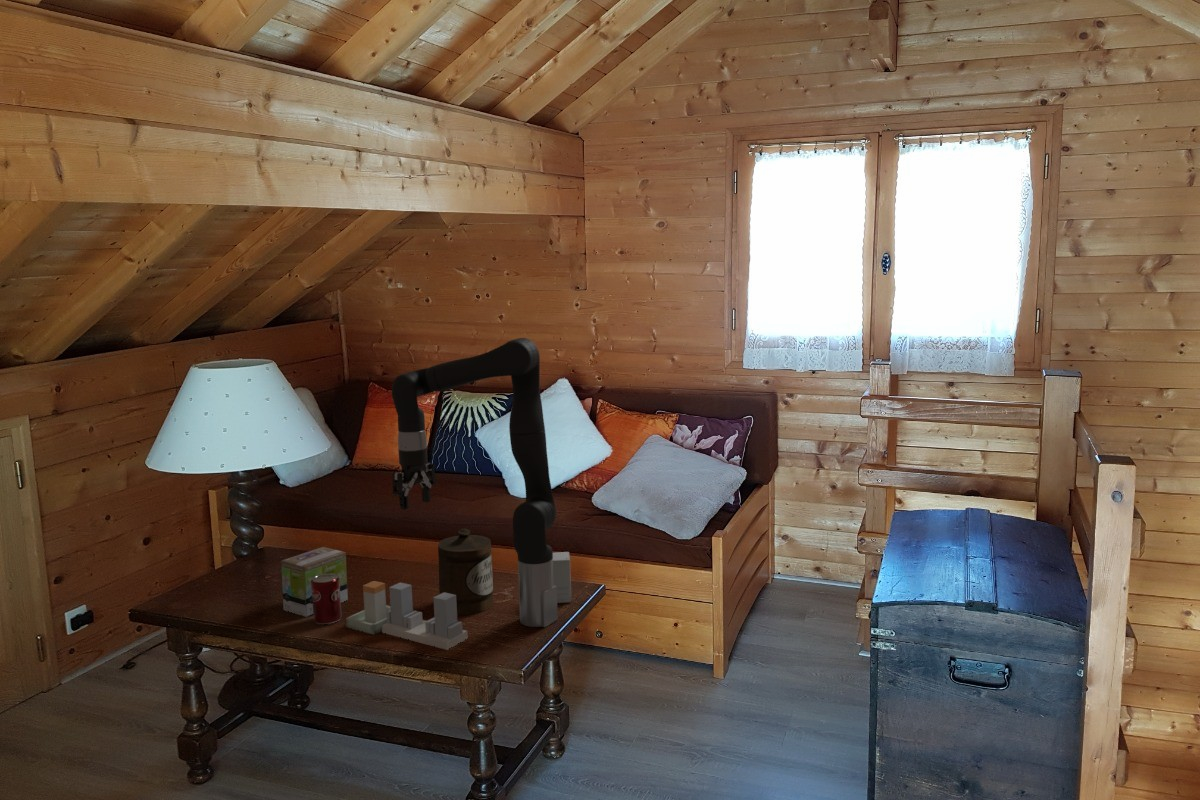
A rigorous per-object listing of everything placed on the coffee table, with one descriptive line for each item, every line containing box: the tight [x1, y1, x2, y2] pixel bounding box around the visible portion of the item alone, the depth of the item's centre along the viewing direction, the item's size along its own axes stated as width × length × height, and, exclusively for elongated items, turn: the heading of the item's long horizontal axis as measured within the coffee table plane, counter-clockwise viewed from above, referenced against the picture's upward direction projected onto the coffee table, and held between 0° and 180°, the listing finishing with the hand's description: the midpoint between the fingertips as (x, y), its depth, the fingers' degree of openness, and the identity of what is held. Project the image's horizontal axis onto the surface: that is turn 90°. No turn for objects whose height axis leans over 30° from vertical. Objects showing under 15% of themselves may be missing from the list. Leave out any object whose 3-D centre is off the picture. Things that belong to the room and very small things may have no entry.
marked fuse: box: [362, 580, 387, 623], centre depth 248 cm, size 4×4×10 cm
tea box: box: [280, 546, 349, 618], centre depth 261 cm, size 15×10×15 cm, turn 147°
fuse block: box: [381, 582, 469, 651], centre depth 239 cm, size 22×8×12 cm, turn 59°
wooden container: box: [437, 528, 494, 615], centre depth 259 cm, size 15×15×22 cm
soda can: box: [311, 574, 343, 625], centre depth 251 cm, size 7×7×12 cm
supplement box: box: [553, 551, 572, 604], centre depth 263 cm, size 7×7×13 cm
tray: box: [345, 604, 391, 635], centre depth 249 cm, size 10×12×2 cm
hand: (415, 505), depth 252 cm, fingers open, 8 cm apart
